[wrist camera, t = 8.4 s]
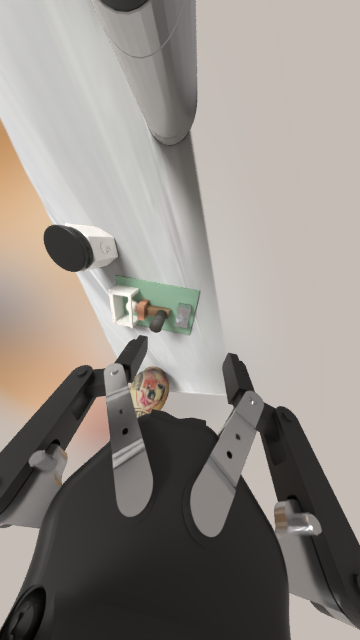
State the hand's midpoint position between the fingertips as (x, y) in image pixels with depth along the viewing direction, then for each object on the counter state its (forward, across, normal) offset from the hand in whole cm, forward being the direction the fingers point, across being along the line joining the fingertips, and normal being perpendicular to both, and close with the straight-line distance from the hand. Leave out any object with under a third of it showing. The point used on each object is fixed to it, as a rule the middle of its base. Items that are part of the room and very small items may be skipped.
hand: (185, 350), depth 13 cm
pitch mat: (+28, +10, +11) cm, 32 cm away
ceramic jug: (+28, +10, +44) cm, 53 cm away
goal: (+28, +19, +11) cm, 35 cm away
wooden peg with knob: (+27, +10, +11) cm, 31 cm away
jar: (+28, +26, -4) cm, 39 cm away
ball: (+26, +17, +11) cm, 33 cm away
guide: (+28, +2, +11) cm, 30 cm away
